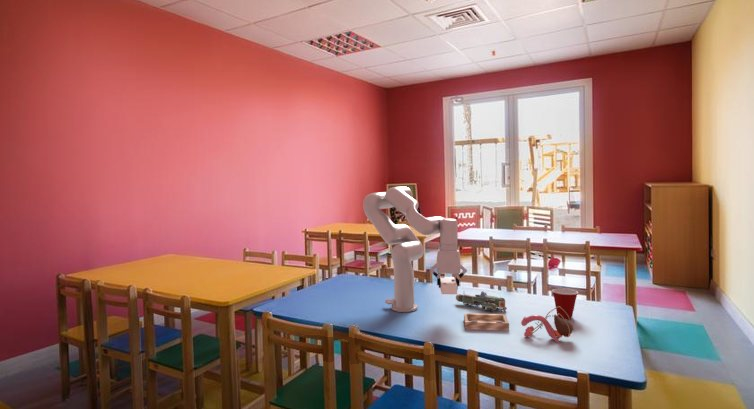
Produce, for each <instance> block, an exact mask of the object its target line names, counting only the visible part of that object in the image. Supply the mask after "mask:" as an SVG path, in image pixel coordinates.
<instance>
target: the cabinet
mask: <svg viewBox="0 0 754 409" xmlns="http://www.w3.org/2000/svg"><path fill="white" fill-rule="evenodd" d="M463 322H464V330H479V331H480V330H482V331H483V330H484V331H510V322H509V320H508V318H507V316H506V313H505V314H501V313H473V312H470V313H466V312H464V313H463Z"/></svg>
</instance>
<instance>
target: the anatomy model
mask: <svg viewBox="0 0 754 409" xmlns="http://www.w3.org/2000/svg"><path fill="white" fill-rule="evenodd" d="M558 307H560V306H558ZM558 307H556V306H555V307H554V308H553V309H551V310H549V311H548V312H547V314H546V315H545V317H544V316H543V315H540V314H533V315H532V314H531V315H529V316H524V317H523V318H522V320H521V323H520V324H521V325H522V327H526V326H527V325H528V324H529V323H532V322H534V321H537V322H535V324H536V327H534V326H532V325H530V326H528V327H526V328H525V332H524V333H523V335H524V336H523V337H525V338H530V337H531V336H533V334H535V333H536V332H537V331H538V330H539V329H540V330H542V328H543V327H544V328H545V331H546V332H547V334H548V336H549V337H550V338H552V339H553V341H555V342H556V343H557V344H559V342H560V341H559V340H558V338H563V337H564V338H570V337H571V335H572V333H573V331H574V325H573V324H572V322H571V319H570V318H569V316H568V314H567V313H566V312H565V311H564V310H563V309H562V308H561V307H560V308H561V309H562V310H563V311H564V312H565V313H566V314H567V316H568V318H569V319H564V318H563V317H562V315H561V314H559V313H558V315H561V317H562V318H563V319H562V318H560V317H558V315H557V314H553V320H554V322H553V323H554V326H555V329H554V327H553V326H552V325H551V323H550V322H549V321H548V318H549V317H550V315H549V314H550V313H552V311H554V310H556V308H558Z"/></svg>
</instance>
